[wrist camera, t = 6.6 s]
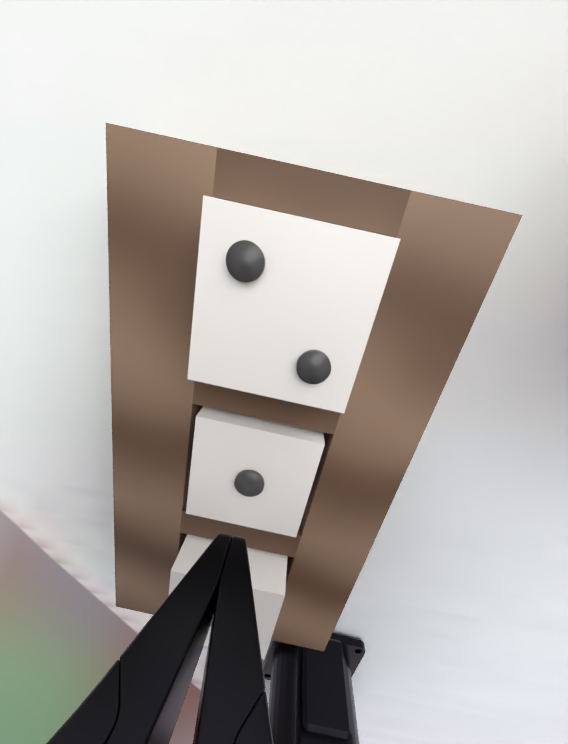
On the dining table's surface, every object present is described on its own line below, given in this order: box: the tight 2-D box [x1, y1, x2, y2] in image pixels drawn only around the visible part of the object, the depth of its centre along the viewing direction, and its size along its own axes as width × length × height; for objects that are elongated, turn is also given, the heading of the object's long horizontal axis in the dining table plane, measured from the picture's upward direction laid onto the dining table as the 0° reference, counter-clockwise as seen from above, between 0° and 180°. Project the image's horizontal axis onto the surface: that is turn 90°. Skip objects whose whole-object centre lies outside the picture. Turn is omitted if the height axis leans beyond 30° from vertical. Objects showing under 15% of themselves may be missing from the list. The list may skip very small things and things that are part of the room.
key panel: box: [106, 123, 522, 651], centre depth 13 cm, size 22×12×3 cm, turn 168°
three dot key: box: [169, 534, 287, 660], centre depth 13 cm, size 5×5×2 cm
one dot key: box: [186, 406, 325, 537], centre depth 12 cm, size 5×5×2 cm
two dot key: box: [187, 195, 400, 413], centre depth 8 cm, size 5×5×2 cm
